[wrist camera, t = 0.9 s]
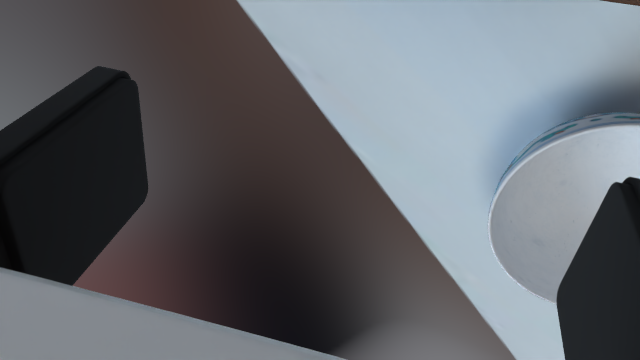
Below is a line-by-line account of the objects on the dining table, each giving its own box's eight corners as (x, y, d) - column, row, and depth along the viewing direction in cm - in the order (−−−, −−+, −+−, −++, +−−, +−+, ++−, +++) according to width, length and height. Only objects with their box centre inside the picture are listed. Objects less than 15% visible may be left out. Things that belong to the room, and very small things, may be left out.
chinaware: (749, 85, 35) (807, 145, 29) (661, 257, 44) (691, 331, 37) (509, 59, 38) (515, 108, 32) (470, 225, 46) (469, 290, 40)
